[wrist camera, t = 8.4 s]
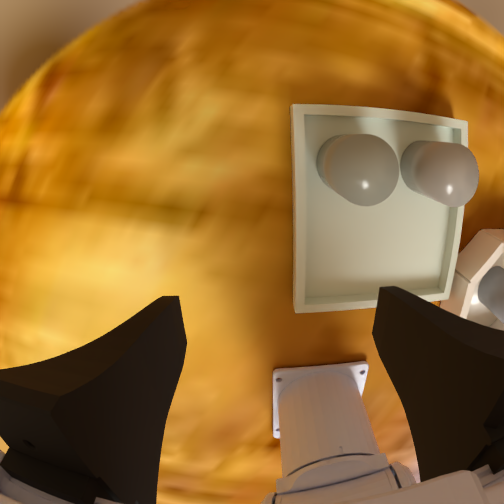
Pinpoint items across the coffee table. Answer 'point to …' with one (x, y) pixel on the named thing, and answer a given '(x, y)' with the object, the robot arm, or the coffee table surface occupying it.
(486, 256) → the bowl
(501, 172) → the coffee table surface
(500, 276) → the grey rounded cylinder
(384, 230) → the tray
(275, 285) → the coffee table surface
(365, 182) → the pebble
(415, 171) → the pebble
